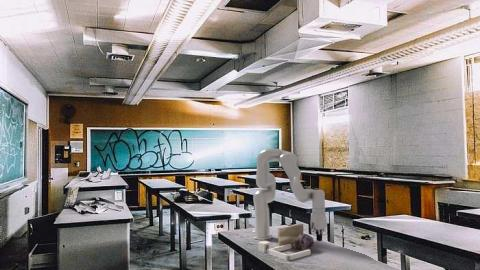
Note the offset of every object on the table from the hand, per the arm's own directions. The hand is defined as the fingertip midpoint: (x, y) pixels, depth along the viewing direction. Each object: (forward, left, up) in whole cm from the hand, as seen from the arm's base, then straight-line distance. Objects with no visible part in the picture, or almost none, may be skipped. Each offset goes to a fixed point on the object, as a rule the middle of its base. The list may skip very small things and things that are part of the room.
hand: (319, 240), depth 230 cm
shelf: (-11, -13, -3) cm, 17 cm away
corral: (0, -25, -3) cm, 25 cm away
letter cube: (-14, -32, -3) cm, 35 cm away
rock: (0, -12, -3) cm, 13 cm away
